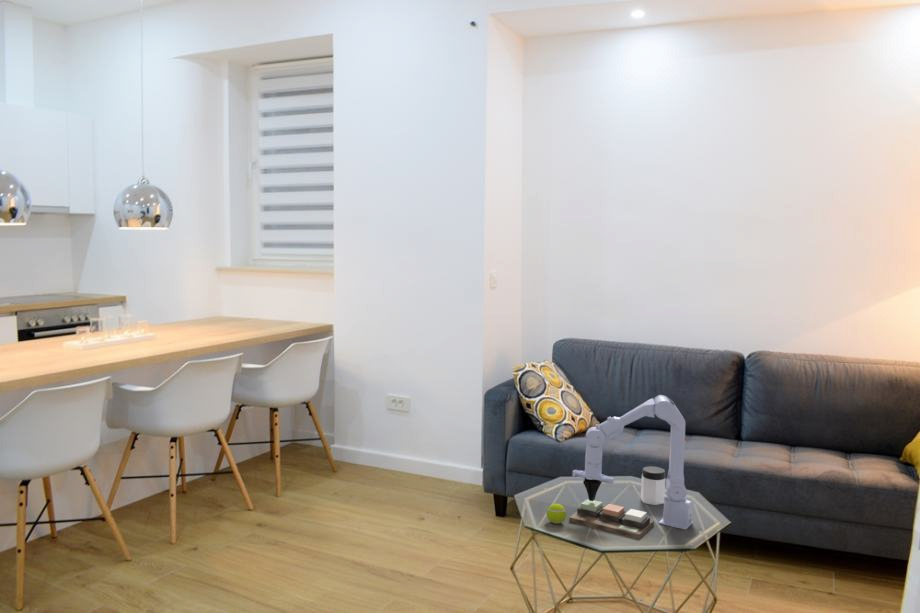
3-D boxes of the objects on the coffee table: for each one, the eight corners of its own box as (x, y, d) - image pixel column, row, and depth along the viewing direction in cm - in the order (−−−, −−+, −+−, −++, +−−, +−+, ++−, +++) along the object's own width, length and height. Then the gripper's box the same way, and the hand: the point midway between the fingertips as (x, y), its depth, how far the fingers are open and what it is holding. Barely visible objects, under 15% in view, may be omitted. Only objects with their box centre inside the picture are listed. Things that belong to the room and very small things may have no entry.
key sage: (602, 507, 272) (602, 502, 272) (595, 512, 267) (596, 507, 267) (587, 504, 275) (587, 498, 275) (580, 509, 270) (581, 503, 270)
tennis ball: (558, 528, 260) (559, 509, 259) (542, 523, 265) (542, 504, 264) (569, 523, 265) (570, 504, 264) (553, 517, 270) (554, 499, 269)
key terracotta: (624, 512, 268) (624, 507, 267) (618, 517, 263) (618, 512, 263) (608, 509, 271) (608, 503, 270) (602, 514, 266) (602, 508, 266)
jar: (638, 496, 292) (640, 465, 291) (660, 497, 292) (662, 466, 290) (643, 505, 283) (645, 473, 282) (666, 506, 283) (667, 474, 282)
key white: (646, 518, 263) (646, 512, 263) (640, 523, 259) (641, 517, 258) (630, 514, 266) (631, 508, 266) (624, 519, 262) (625, 513, 261)
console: (653, 525, 265) (654, 515, 265) (639, 538, 253) (639, 529, 253) (585, 509, 278) (586, 500, 278) (569, 521, 267) (569, 512, 266)
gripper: (569, 461, 270) (567, 498, 271) (608, 469, 262) (607, 508, 263) (577, 456, 275) (576, 493, 277) (616, 463, 268) (614, 501, 269)
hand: (591, 500), depth 271 cm, fingers closed
